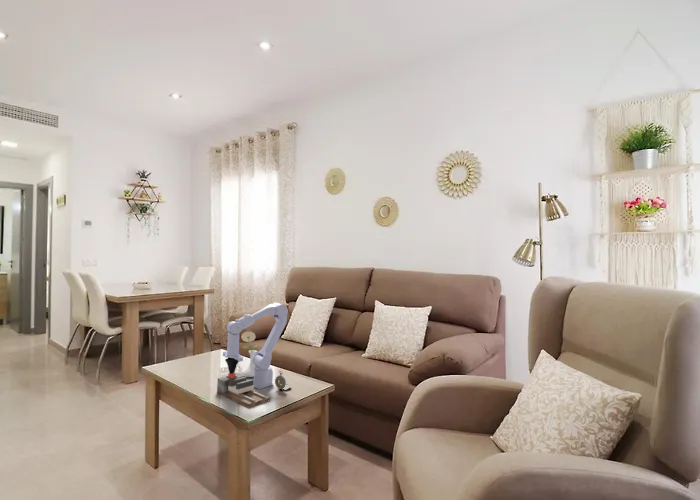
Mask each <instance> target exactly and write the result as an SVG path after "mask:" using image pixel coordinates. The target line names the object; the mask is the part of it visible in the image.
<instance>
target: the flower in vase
mask: <svg viewBox="0 0 700 500" xmlns="http://www.w3.org/2000/svg"><path fill="white" fill-rule="evenodd" d="M256 337H257V336H256V333H255V332H253V331H249V330H248V331H245V332H243V333H242V334H241V336H240V338H241V340H242V341H243V342H246V343H247V345H246V344H244V345H242V346H241V349H245V350H246V349H250V350H248V354H249V356H250V358H249V359H250V362H249V364H248V366H246V367H245V368H244V369H243V370H242V371H241V374H243V375H245V377H247V378H254V367H255V365H254V364H253V358H254V356H255V355H256V354H257V353H258V350H255V349H256V348H257V347H258V344H257V345H253V346H252V347H250V343H251V342H253V341H255V339H256Z"/></svg>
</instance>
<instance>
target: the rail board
mask: <svg viewBox="0 0 700 500" xmlns="http://www.w3.org/2000/svg"><path fill="white" fill-rule="evenodd" d="M241 377H246V376H245V375H242V373H240V372H237V373H236V377H235V378H233V379H229V378H228V375H224V376H222V377H217V382H216V383H217V386H216V393H218V394H220V395H221V396H223V397H225V398H227V399H230V400H232V401H235V402H236V403H238V404H241V405H242V406H244V407H247V408H248V407H249V408H252V407H255V406H258V405H260V403H261V404H264V403H267V402H269V401H268V400H270V401H271V396H268V395H266V394H263V393H261V392H259V391H257V390H254V389H253V390H250V391H247V392H243V393H240V394H236V393H234V392H232V391H230V390H228V386H229V381H230V380H234V379H238V378H241ZM266 401H267V402H266ZM263 402H264V403H263Z"/></svg>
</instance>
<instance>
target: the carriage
mask: <svg viewBox="0 0 700 500" xmlns="http://www.w3.org/2000/svg"><path fill="white" fill-rule="evenodd" d="M253 383H254V379H252V378H251V379H248V377H246V376H245V377H241V378H238V379H234V380H230V381H229V386H228V390H230V391H232V392H234V393H236V394H240V393H243V392H247V391H250V390H254V389H255V387H254V385H253Z"/></svg>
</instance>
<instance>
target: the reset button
mask: <svg viewBox="0 0 700 500" xmlns="http://www.w3.org/2000/svg"><path fill="white" fill-rule="evenodd" d="M236 374H237V373H236V371H235V372H234V373H229V372H228V373H227V376H228V378H229V379H233V378H235V377H236Z"/></svg>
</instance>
